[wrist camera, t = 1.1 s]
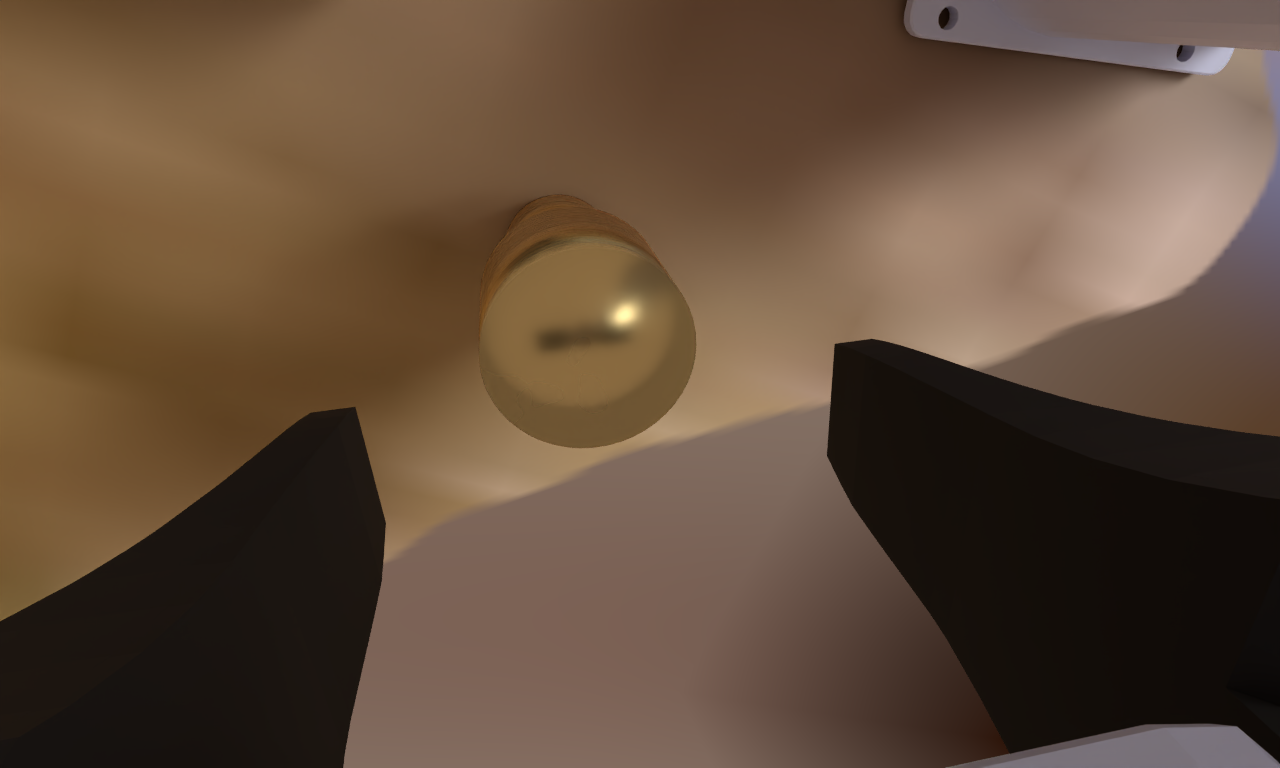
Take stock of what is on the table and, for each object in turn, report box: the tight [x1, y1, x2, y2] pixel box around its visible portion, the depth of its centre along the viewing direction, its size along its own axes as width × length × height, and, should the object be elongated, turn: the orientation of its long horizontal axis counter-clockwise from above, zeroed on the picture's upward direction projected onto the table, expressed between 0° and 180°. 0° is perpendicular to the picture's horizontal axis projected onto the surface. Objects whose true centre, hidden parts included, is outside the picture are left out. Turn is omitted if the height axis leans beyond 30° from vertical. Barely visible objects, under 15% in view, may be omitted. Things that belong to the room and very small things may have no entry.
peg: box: [479, 195, 696, 448], centre depth 17 cm, size 4×4×7 cm
